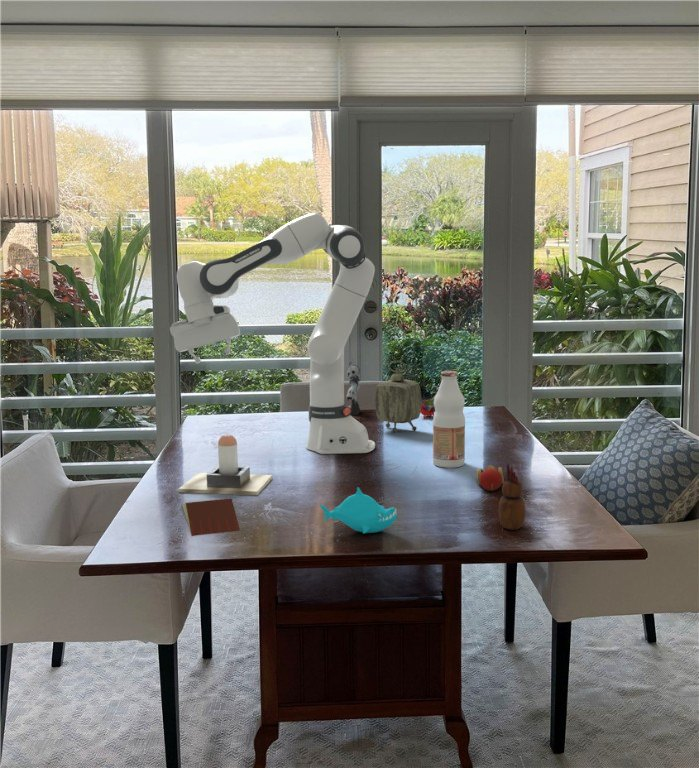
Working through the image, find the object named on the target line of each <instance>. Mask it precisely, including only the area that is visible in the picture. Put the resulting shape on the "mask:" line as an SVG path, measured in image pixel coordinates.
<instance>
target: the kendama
mask: <svg viewBox="0 0 699 768" xmlns="http://www.w3.org/2000/svg"><path fill="white" fill-rule="evenodd" d="M476 478H477V483H478V487H481V488H483V489H484V490H486V491H487V492H488V491H489V492H495V491H497V490H498V489H499V488H500V487H502V485H503V483H504V481H505V480H504V472H503V467H501V466H499V467H497V468H496V467H495V466H494V465H491V464H490V465H487V466H486V467H485V469H482V468H477V469H476Z"/></svg>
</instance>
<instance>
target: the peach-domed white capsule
mask: <svg viewBox="0 0 699 768" xmlns="http://www.w3.org/2000/svg"><path fill="white" fill-rule="evenodd" d="M217 450H218V451H217V452H218V453H217V454H218V466H219V474H238V466H239V458H238V457H239V456H238V454H239V453H238V442H237V439H236V437H235V436H233V435H231V434H223V435H222V436H221V437H220V438H219V439H218V441H217Z"/></svg>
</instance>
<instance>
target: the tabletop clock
mask: <svg viewBox="0 0 699 768" xmlns="http://www.w3.org/2000/svg"><path fill="white" fill-rule="evenodd" d="M395 363H397V364H402V365H403V366H404V369H403V370H400V369H399V368H396V369H395V370H394V369H392V368H391V365H392V364H395ZM388 369H389V370H390V372H393V374H392V375H391V376H390V378H389V380H385V381H383V382H379V383H377V385H376V388H375V389H376V390H375V399H374V400H375V412H376V413H375V414H376V417H377V419H379V420H381V421H383V422H387V423H385V427H386V428H390V427H391V424H394V426H393V428H392V432H393V433H397V432H398V429H397V424H407V423H408V424H409V425H410V426H411V429H412V431H413V432H416V431H417V426H414V424H413V422H412V421H414V420H417V419H419V418H420V415H421V413H420V412H421V405H422V391H421V386H420V384H419V382H417V381H415V380H409V379H405V376H404V375H403V374H402V373H405V371H406V370H407V366H406V363H405V362H403V361H400V360H392V361H390V362H389V363H388ZM390 423H391V424H390Z"/></svg>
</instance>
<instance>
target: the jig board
mask: <svg viewBox="0 0 699 768" xmlns="http://www.w3.org/2000/svg"><path fill="white" fill-rule="evenodd" d="M208 473H209V472H197V473H196V474H195V475H193V476H192V477H191V478H190V479H188V480H187V481H186V482H184V484H183V485H181V486H180V487H179V488H178V493H184V494H185V493H186V494H189V493H191V494H215V495H242V496H243V495H246V496H247V495H249V496H250V495H251V496H258V495H259V494H260V493H262V491H263V490H264V488H266V486H267V485H268V484H269V483H270V482H271V480H272V479H273V474H251V473H250V479H249V480H248V481H247V482H246V483H245V484H244V485H243V486H242V487H241V488H215V487H207V474H208Z"/></svg>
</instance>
